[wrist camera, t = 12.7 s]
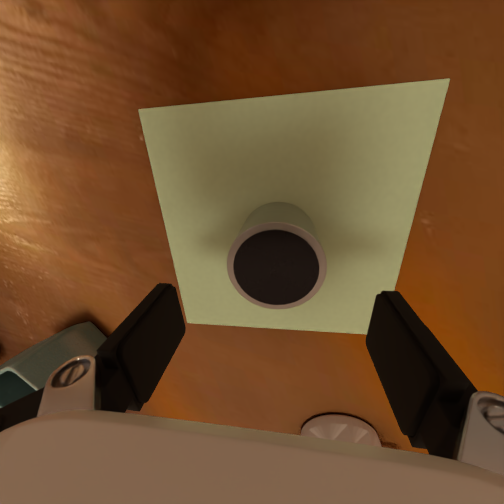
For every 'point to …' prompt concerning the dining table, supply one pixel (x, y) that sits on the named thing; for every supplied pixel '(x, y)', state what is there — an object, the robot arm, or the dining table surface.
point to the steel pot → (277, 257)
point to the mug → (341, 429)
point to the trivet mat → (294, 191)
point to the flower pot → (46, 360)
